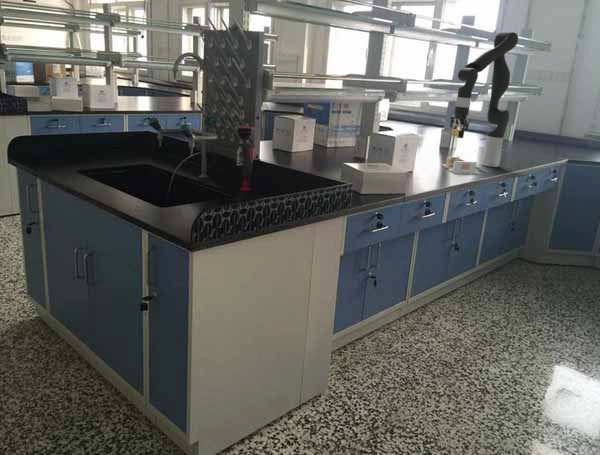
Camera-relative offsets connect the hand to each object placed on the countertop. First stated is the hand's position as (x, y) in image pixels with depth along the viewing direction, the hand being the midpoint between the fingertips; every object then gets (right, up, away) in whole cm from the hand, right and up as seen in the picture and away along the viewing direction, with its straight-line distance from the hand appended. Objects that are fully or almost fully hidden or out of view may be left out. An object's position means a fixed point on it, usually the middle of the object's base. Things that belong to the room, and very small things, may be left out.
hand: (457, 136), depth 291 cm
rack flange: (+2, -20, -5) cm, 21 cm away
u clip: (0, 0, 0) cm, 0 cm away
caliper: (+9, -18, +6) cm, 21 cm away
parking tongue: (-2, -16, +6) cm, 17 cm away
